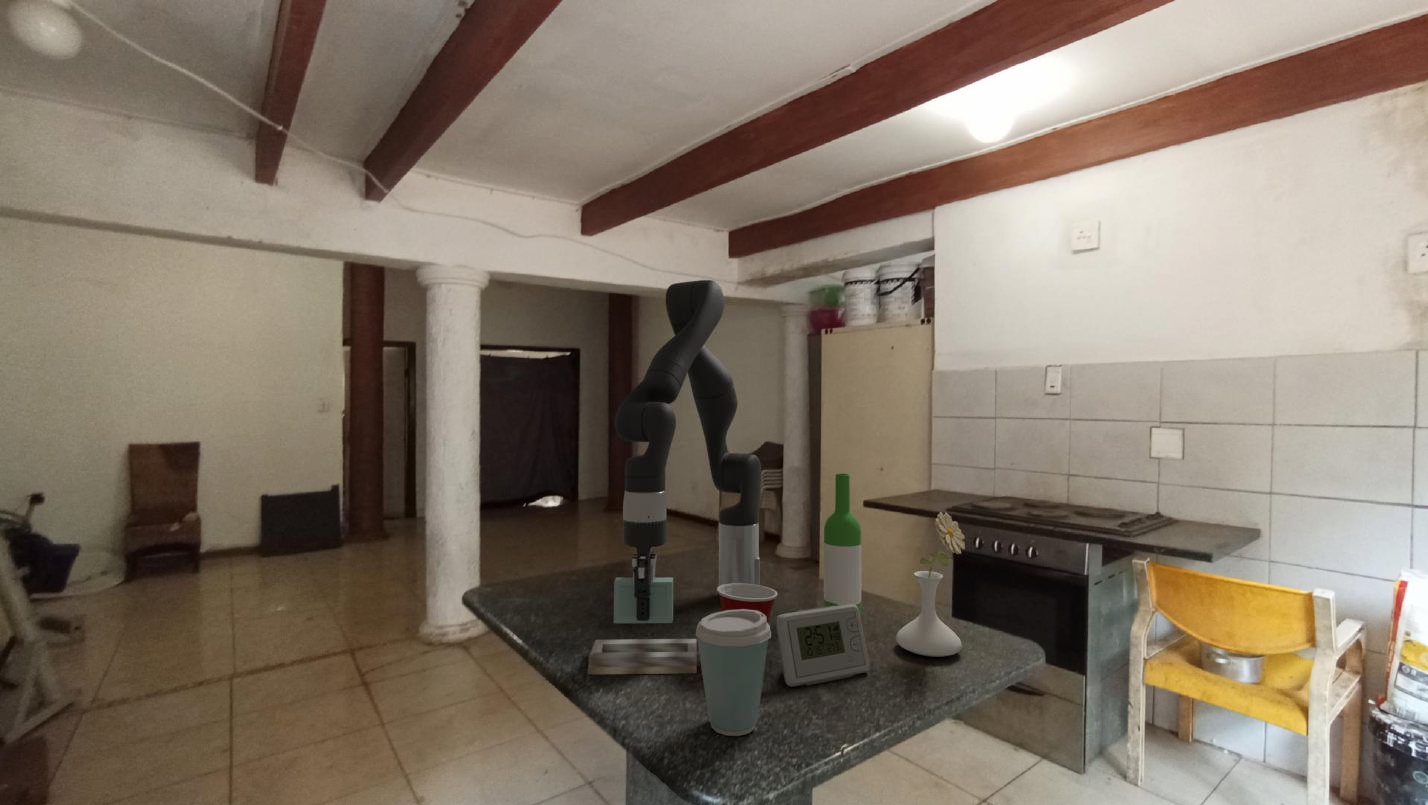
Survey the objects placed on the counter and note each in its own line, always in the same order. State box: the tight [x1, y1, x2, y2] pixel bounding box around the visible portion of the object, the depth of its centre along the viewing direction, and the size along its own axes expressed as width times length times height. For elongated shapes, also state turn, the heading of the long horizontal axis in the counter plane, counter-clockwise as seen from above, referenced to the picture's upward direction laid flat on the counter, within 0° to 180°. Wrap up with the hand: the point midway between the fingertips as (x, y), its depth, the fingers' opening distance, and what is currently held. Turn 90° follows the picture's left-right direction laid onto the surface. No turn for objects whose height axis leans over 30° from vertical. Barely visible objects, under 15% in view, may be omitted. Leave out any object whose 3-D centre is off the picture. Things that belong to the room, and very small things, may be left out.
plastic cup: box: [716, 583, 778, 625], centre depth 112 cm, size 11×11×12 cm
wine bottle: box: [823, 473, 862, 616], centre depth 134 cm, size 8×8×30 cm
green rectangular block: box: [613, 577, 674, 624], centre depth 110 cm, size 10×3×7 cm, turn 92°
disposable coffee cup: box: [695, 609, 772, 737], centre depth 88 cm, size 11×11×15 cm
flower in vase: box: [895, 511, 966, 658], centre depth 116 cm, size 13×11×25 cm
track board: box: [587, 638, 698, 675], centre depth 110 cm, size 18×10×2 cm, turn 92°
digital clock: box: [775, 604, 870, 688], centre depth 105 cm, size 16×9×11 cm, turn 102°
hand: (644, 615), depth 110 cm, fingers closed on green rectangular block, 3 cm apart
